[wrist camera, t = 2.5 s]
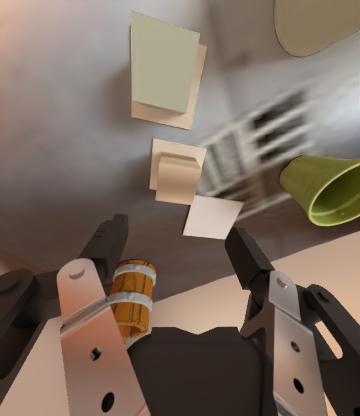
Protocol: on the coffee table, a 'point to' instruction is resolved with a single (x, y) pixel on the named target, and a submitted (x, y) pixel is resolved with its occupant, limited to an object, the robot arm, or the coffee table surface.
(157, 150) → the code tile
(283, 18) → the can
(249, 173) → the coffee table surface
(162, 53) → the sage block
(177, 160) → the beech block
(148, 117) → the code tile
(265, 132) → the coffee table surface
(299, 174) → the plant pot
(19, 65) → the coffee table surface
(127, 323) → the mug
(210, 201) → the felt pad
